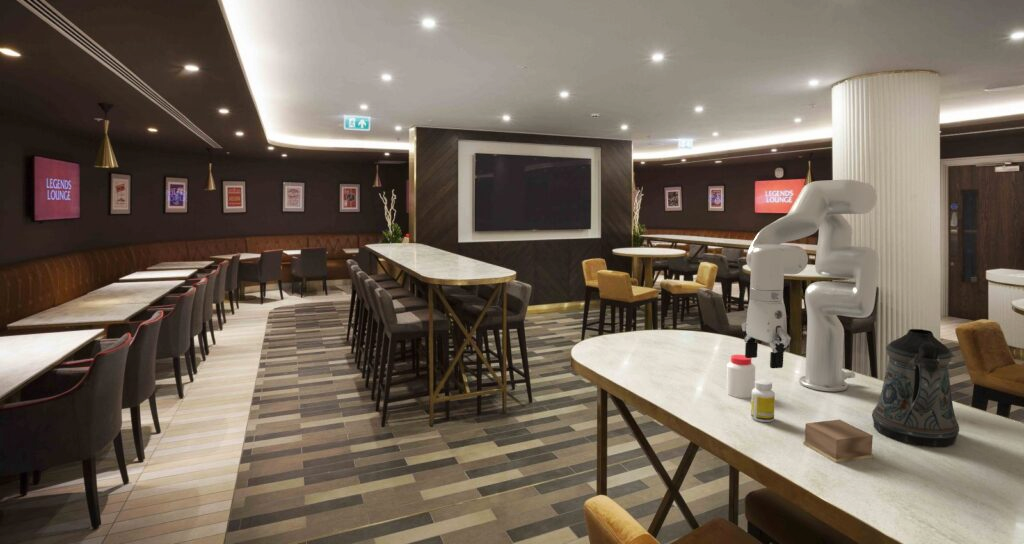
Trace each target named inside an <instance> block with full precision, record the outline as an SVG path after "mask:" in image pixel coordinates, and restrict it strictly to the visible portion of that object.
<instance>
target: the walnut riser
mask: <svg viewBox="0 0 1024 544" xmlns="http://www.w3.org/2000/svg"><path fill="white" fill-rule="evenodd" d="M804 427H805V428H804V440H803V442H802V443H803V445H805V446H806V447H807V448H809V449H811V450H813V451H815V452H816V453H818V454H819V455H822V456H823V457H825V458H827V459H828V460H830V461H832V462H834V464H837V463H842V462H843V463H844V462H850V461H851V462H852V461H859V460H865V459H867V460H868V459H873V458H874V454H872V453H873V440H874V438H873V437H874V435H873V434H871V433H869V432H866V431H865V430H862V429H860V428H859V427H856V426H854V425H853V424H849V423H848V422H846V421H843V420H841V419H833V420H825V421H816V422H806V423H805V426H804Z"/></svg>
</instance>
